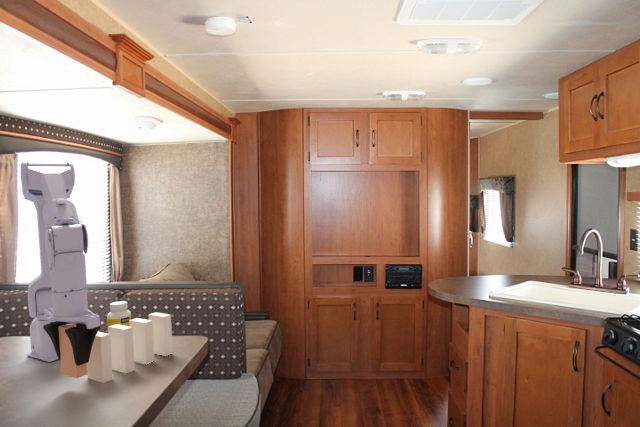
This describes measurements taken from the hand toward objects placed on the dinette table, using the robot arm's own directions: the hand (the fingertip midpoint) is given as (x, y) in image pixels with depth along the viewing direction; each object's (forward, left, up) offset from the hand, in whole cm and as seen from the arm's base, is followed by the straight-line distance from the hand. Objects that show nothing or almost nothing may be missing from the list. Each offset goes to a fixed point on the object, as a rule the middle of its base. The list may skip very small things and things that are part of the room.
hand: (73, 361), depth 84 cm
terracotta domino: (0, 0, -2) cm, 2 cm away
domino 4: (0, +20, -5) cm, 21 cm away
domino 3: (0, +15, -5) cm, 16 cm away
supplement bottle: (-16, +21, -6) cm, 27 cm away
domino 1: (0, +5, -5) cm, 7 cm away
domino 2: (0, +10, -5) cm, 11 cm away
